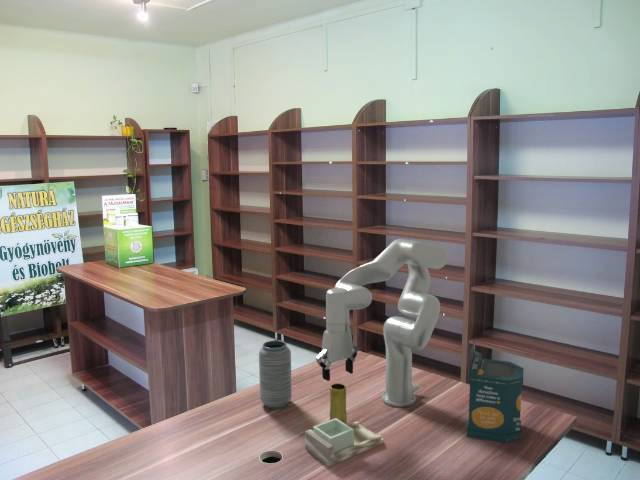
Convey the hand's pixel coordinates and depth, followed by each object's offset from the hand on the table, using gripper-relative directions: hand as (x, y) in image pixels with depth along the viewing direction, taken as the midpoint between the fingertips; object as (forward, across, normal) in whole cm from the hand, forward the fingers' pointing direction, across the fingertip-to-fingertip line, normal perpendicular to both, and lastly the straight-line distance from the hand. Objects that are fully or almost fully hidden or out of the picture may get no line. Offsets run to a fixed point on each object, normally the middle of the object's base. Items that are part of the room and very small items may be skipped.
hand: (337, 375), depth 179 cm
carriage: (+17, +10, +11) cm, 22 cm away
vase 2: (+18, 0, 0) cm, 18 cm away
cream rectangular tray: (+18, +6, +11) cm, 22 cm away
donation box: (+18, -40, +33) cm, 55 cm away
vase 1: (+18, +8, -27) cm, 34 cm away
